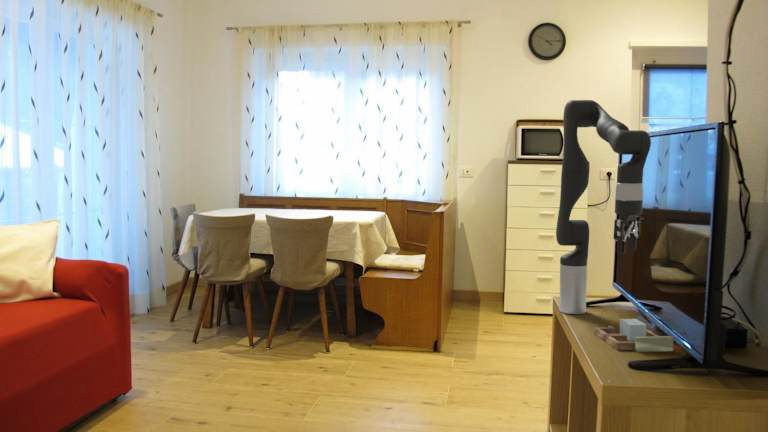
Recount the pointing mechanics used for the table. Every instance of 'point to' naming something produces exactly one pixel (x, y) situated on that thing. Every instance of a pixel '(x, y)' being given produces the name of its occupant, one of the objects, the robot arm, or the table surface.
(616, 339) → the trap lane
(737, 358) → the table surface
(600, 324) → the table surface
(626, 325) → the blue grey block
